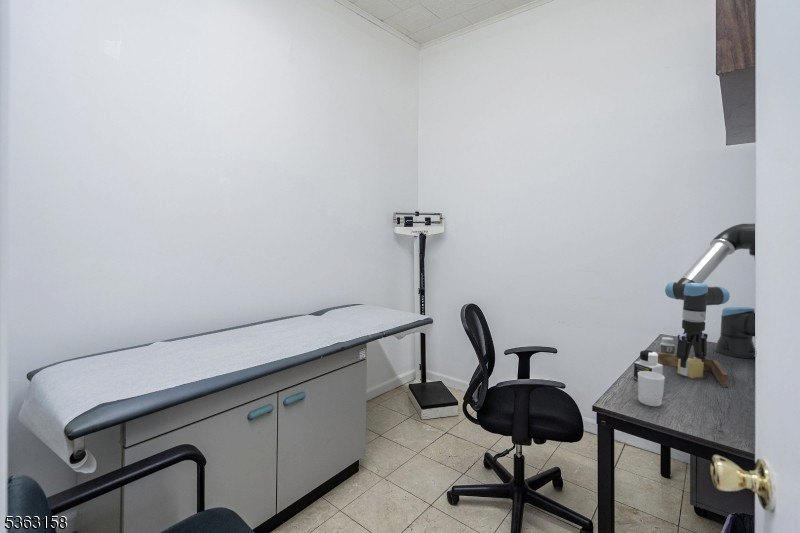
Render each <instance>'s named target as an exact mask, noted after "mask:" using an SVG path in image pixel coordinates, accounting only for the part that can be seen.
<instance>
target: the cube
mask: <svg viewBox="0 0 800 533" xmlns="http://www.w3.org/2000/svg"><path fill="white" fill-rule="evenodd" d="M687 360H688V361H689V369H688V377H691V378H695V377H702V376H704V370H703V366H704V362H701V361H698V360H695V359H691V358H688V359H687ZM680 361H681V360H680V359H678V367H677V372H678V373H680V369H681V367H680ZM688 377H687V378H688ZM691 378H690V379H691Z"/></svg>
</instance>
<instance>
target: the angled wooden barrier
mask: <svg viewBox="0 0 800 533" xmlns="http://www.w3.org/2000/svg"><path fill="white" fill-rule="evenodd" d="M655 352H656V353H657V354H658V364H661V365H663V366H670V367H677V368H678V359H679V358H677V357H676V355H677V354H667V353H660V351H659V352H658V351H655ZM693 357H694V356H690V355H689V356H688V358H691V359H693ZM702 362H704V366H703V371H706V372H711V373H712V375H713V376H714V377H715V379H716V380H717V381H718V383H719V385H720V386H721V387H722V388H728V382H729V374H728V373H727V372H726V371H725V369H724V368H723V367H722V365H721V364H720V363H719V361H718V360H717V359H714V358H707V357H705V359H702Z"/></svg>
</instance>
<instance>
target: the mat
mask: <svg viewBox="0 0 800 533" xmlns="http://www.w3.org/2000/svg"><path fill="white" fill-rule="evenodd" d="M674 373H675V374H678V375H680V376H682V377H685V378H689V379H691V380H698V379H703V378H706V376H705V375H703V376H702V377H695V378H691V377H688V376H685V375H682V374H680V373H678V371H677V372H674Z"/></svg>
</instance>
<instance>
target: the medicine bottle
mask: <svg viewBox="0 0 800 533" xmlns="http://www.w3.org/2000/svg"><path fill="white" fill-rule="evenodd" d="M656 352H657V351H653V350H646V349H645V350H641V351H640V352H639V360H638V361H635V362H634V366H633V379H634V378H635V380H637V381H638V372H640V371H650V372H655V373H658V374H661V375H663V371H664V365H662V364H658V354H657V353H656Z"/></svg>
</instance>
